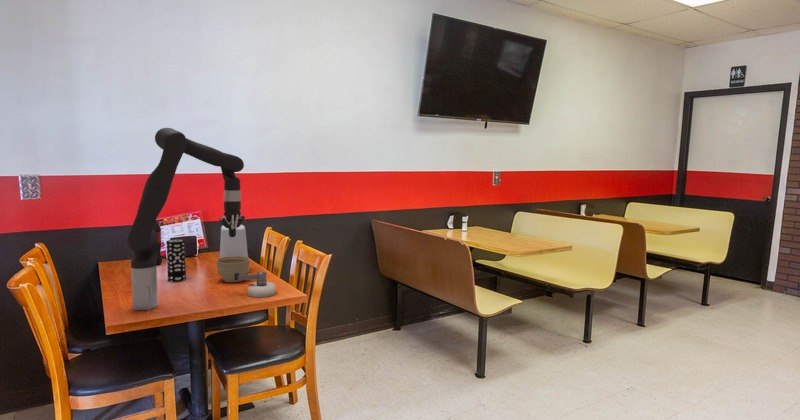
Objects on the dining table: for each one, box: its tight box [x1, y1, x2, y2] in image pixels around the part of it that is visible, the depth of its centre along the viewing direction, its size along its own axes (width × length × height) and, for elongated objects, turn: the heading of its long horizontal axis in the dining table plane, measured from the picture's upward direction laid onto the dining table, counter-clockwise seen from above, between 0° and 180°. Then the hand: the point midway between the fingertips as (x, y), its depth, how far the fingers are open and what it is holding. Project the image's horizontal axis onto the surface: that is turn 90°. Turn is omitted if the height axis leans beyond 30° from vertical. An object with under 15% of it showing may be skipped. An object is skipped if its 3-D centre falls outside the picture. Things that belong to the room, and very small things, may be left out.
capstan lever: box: [234, 270, 268, 286], centre depth 218 cm, size 14×4×6 cm, turn 99°
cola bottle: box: [153, 219, 163, 267], centre depth 268 cm, size 8×8×30 cm
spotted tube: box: [165, 238, 187, 283], centre depth 238 cm, size 8×8×20 cm
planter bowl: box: [215, 256, 251, 283], centre depth 240 cm, size 16×16×11 cm
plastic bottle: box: [219, 224, 250, 273], centre depth 257 cm, size 15×15×28 cm
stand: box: [247, 281, 276, 299], centre depth 219 cm, size 12×12×5 cm
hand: (232, 236), depth 221 cm, fingers closed
